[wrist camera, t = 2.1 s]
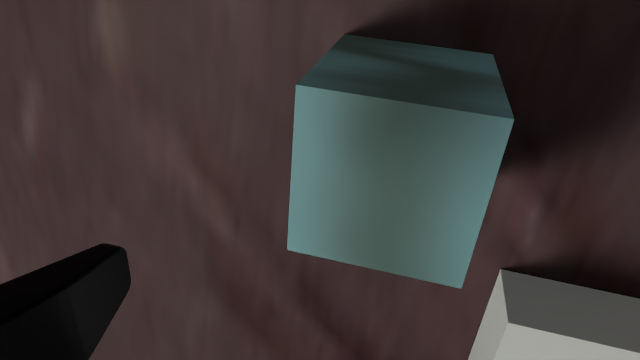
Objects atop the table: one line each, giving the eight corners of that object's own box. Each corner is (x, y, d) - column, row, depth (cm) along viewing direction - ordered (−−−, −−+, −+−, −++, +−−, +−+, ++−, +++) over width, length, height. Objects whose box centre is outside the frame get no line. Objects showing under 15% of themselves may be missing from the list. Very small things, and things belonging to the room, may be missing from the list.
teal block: (331, 160, 19) (287, 249, 13) (344, 33, 16) (296, 84, 11) (458, 183, 18) (461, 288, 13) (492, 53, 15) (514, 119, 10)
